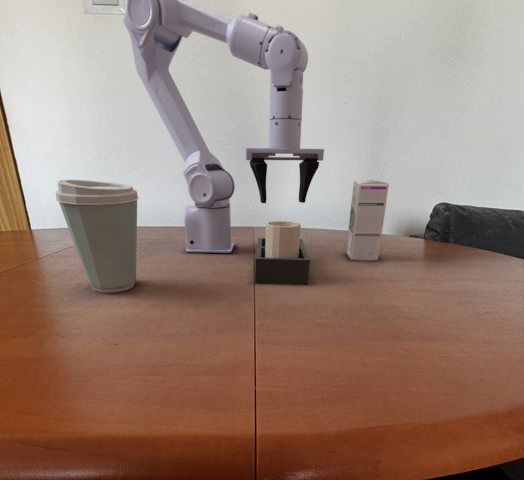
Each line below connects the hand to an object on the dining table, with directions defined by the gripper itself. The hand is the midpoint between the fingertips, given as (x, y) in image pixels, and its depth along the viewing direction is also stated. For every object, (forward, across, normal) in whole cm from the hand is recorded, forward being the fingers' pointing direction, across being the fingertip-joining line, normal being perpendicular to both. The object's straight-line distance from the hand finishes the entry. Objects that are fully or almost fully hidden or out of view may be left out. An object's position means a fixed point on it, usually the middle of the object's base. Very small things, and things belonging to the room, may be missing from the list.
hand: (282, 202), depth 73 cm
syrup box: (+11, -16, +3) cm, 20 cm away
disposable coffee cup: (+10, +30, +16) cm, 36 cm away
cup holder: (+10, +2, +10) cm, 15 cm away
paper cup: (+10, +3, +14) cm, 17 cm away
